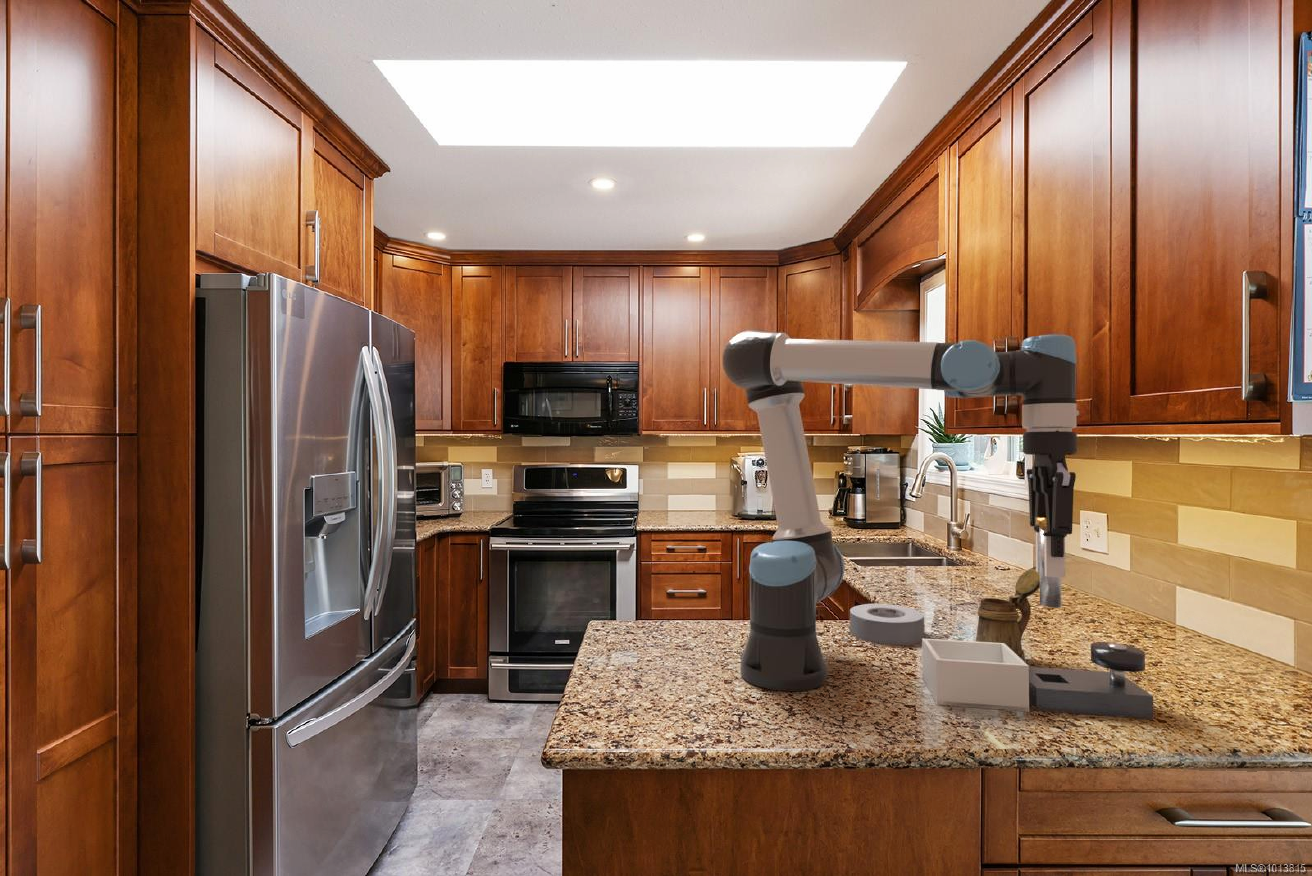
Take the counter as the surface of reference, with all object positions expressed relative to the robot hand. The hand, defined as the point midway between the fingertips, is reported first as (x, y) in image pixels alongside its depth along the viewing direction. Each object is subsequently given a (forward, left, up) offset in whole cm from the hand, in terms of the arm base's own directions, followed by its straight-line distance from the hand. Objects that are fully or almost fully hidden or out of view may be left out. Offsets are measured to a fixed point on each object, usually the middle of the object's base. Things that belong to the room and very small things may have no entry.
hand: (1050, 574), depth 102 cm
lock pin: (0, 0, -5) cm, 5 cm away
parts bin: (-12, 0, -20) cm, 24 cm away
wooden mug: (0, +20, -21) cm, 29 cm away
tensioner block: (+4, 0, -20) cm, 21 cm away
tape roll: (-21, +32, -21) cm, 44 cm away
